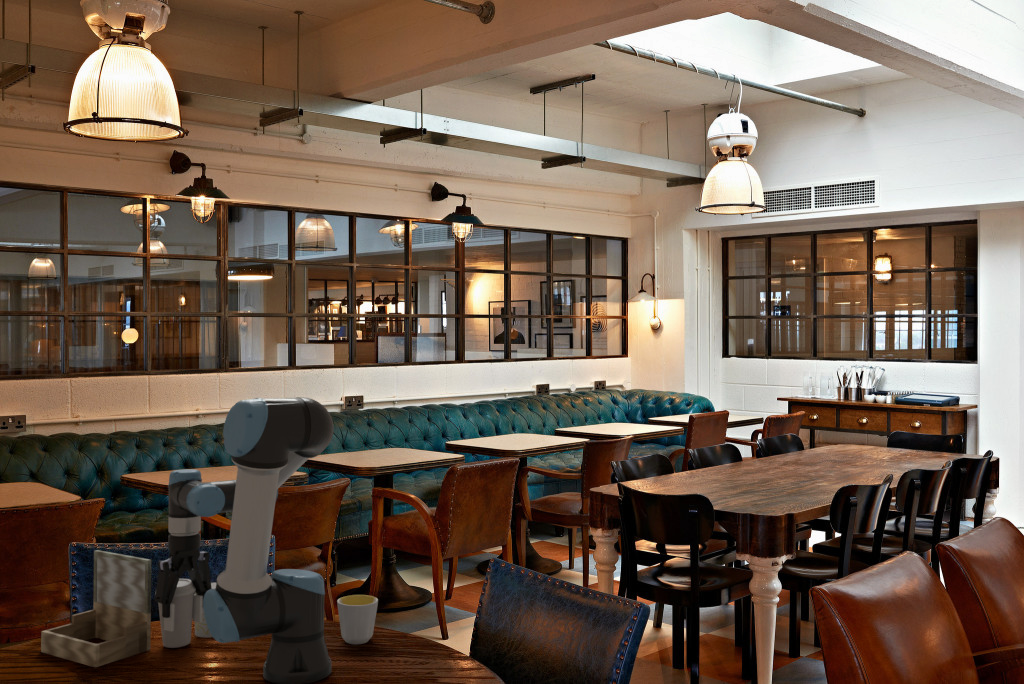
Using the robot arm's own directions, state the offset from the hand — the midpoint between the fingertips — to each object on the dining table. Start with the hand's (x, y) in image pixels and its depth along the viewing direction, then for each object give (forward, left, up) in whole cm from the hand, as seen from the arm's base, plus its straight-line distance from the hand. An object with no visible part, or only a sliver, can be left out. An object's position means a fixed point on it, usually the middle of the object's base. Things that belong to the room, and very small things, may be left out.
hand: (183, 625), depth 228 cm
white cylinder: (+5, -13, -6) cm, 15 cm away
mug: (-31, -29, -6) cm, 43 cm away
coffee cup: (+3, -1, -5) cm, 6 cm away
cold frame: (+17, +12, -6) cm, 22 cm away
